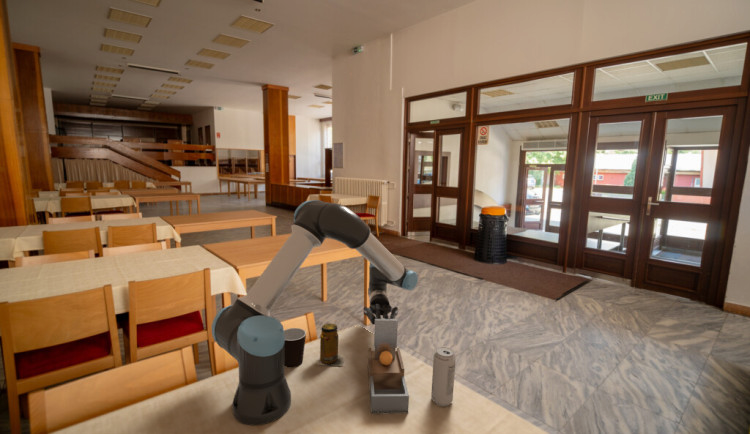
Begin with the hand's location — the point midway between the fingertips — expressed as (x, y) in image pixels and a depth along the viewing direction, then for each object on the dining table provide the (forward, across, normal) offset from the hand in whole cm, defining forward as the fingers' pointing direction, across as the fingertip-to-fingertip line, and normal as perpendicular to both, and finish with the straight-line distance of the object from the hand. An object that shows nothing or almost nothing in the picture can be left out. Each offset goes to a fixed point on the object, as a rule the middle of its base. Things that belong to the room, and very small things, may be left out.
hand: (384, 331), depth 112 cm
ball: (+7, 0, -5) cm, 9 cm away
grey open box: (+16, 0, -13) cm, 21 cm away
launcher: (+6, 0, -13) cm, 14 cm away
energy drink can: (+16, -15, -13) cm, 26 cm away
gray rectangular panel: (+4, 0, -7) cm, 8 cm away
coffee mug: (-5, +30, -13) cm, 33 cm away
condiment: (-5, +17, -13) cm, 22 cm away
